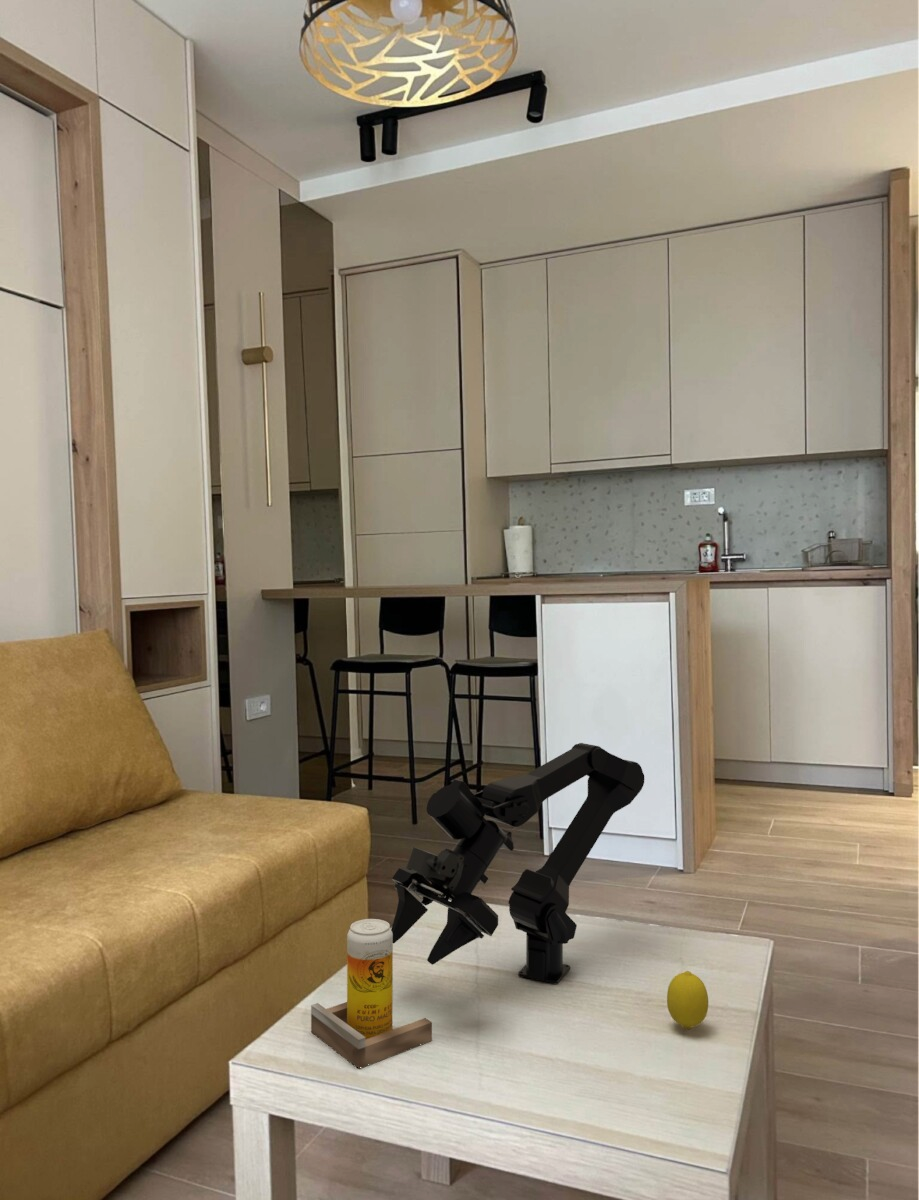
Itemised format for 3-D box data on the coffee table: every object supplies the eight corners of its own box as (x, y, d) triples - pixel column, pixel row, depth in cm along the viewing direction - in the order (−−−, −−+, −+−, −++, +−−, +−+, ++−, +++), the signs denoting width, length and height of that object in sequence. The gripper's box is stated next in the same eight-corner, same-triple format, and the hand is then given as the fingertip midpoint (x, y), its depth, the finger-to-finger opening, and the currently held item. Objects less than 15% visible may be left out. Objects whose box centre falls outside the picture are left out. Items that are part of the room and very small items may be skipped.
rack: (381, 1007, 130) (381, 982, 130) (431, 1040, 121) (432, 1013, 121) (311, 1032, 123) (311, 1005, 123) (358, 1069, 114) (358, 1039, 114)
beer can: (358, 1052, 118) (358, 937, 118) (340, 1032, 123) (340, 922, 123) (400, 1040, 121) (400, 929, 121) (380, 1021, 126) (381, 914, 126)
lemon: (661, 1020, 127) (661, 963, 127) (699, 1019, 127) (700, 962, 127) (674, 1040, 121) (674, 980, 121) (714, 1038, 122) (714, 979, 122)
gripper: (402, 812, 136) (339, 901, 129) (482, 840, 121) (415, 942, 115) (443, 854, 141) (385, 942, 134) (525, 885, 127) (464, 986, 120)
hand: (409, 951), depth 126 cm, fingers open, 9 cm apart
